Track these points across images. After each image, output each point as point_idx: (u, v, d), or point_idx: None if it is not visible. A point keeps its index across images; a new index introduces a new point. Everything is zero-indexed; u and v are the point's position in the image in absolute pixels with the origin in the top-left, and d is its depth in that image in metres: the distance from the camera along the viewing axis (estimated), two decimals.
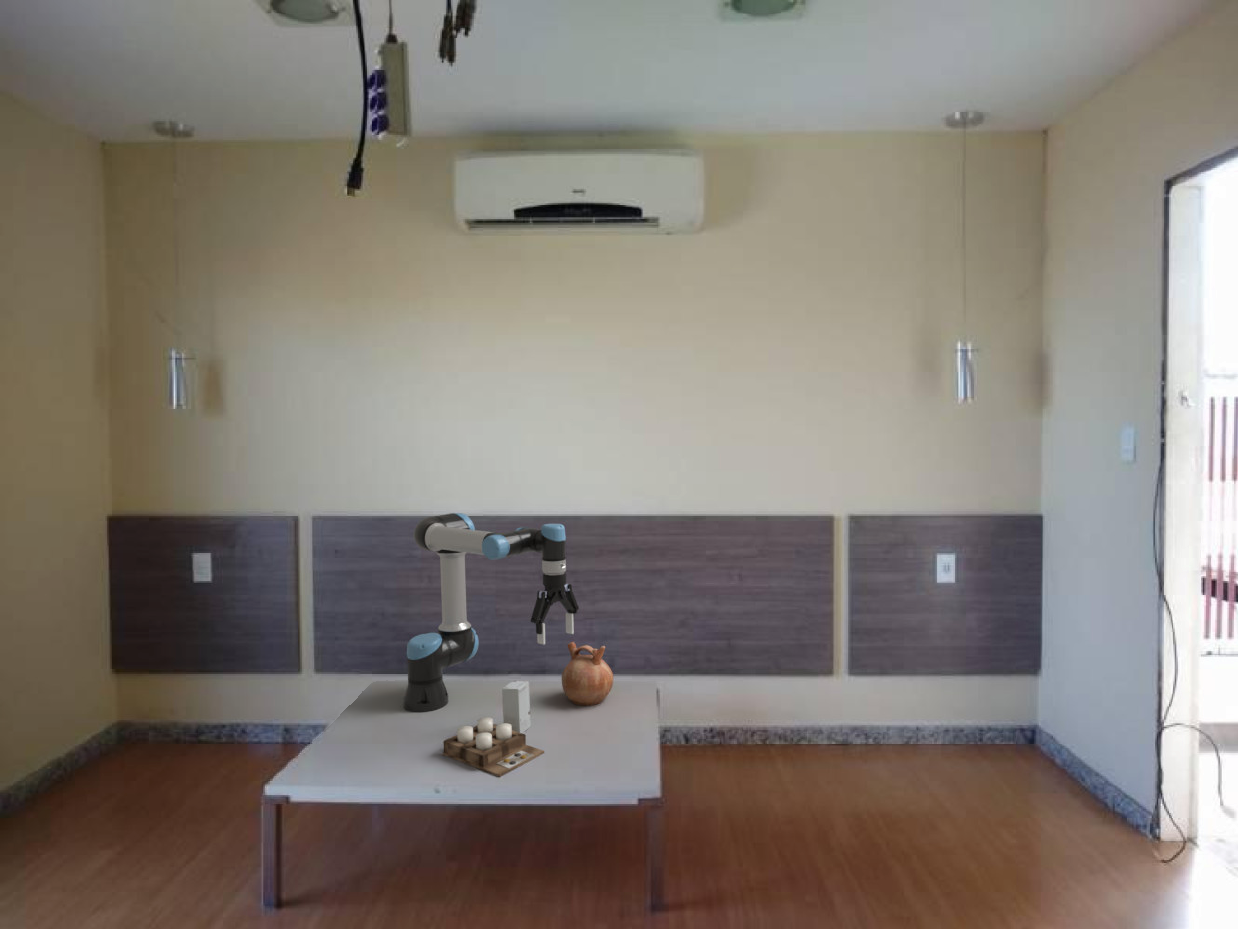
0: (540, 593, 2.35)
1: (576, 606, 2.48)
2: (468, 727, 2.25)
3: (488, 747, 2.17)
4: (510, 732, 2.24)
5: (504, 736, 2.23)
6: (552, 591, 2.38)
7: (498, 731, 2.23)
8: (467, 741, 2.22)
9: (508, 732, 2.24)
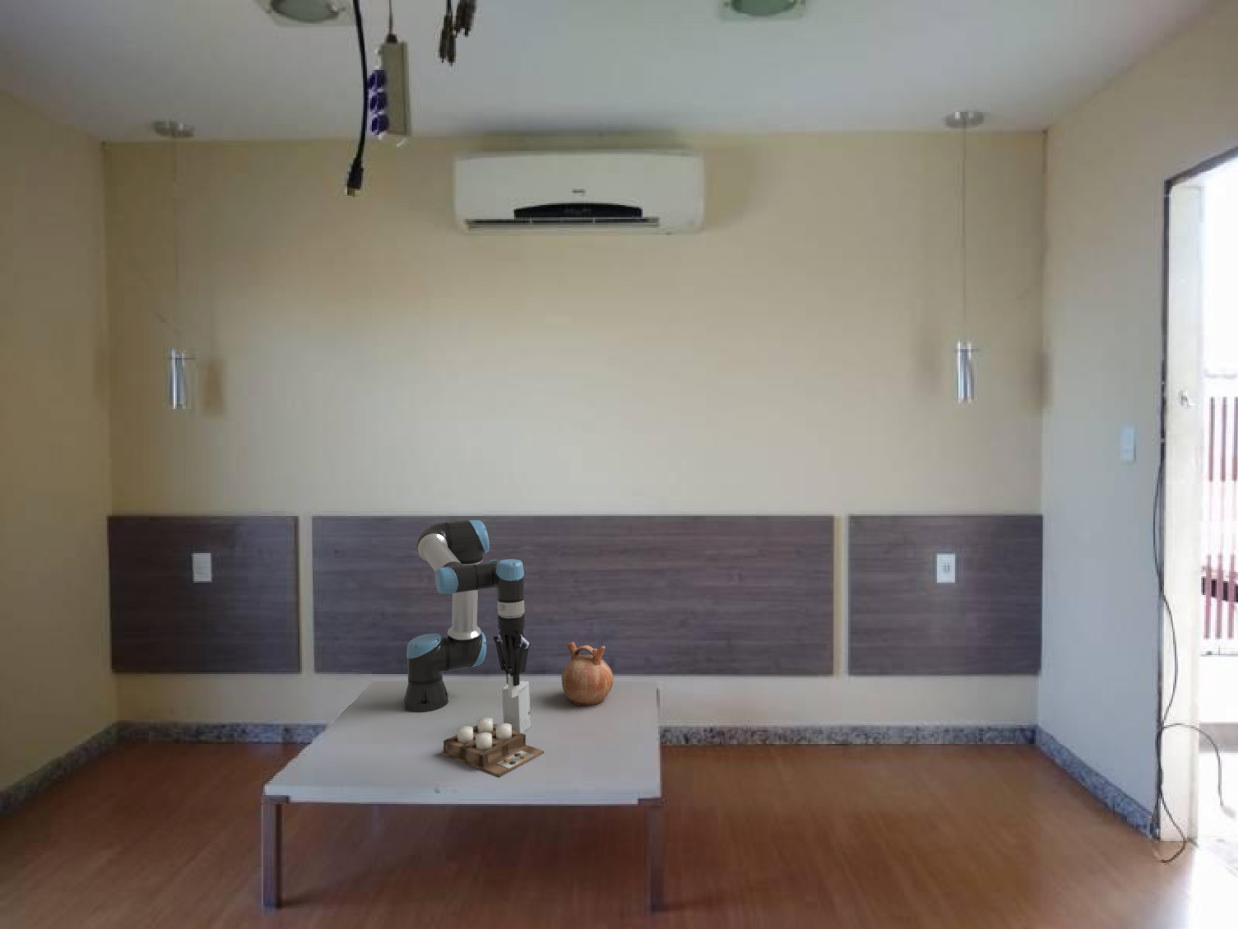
0: None
1: (517, 669, 2.13)
2: (468, 727, 2.25)
3: (488, 747, 2.17)
4: (510, 732, 2.24)
5: (504, 736, 2.23)
6: (502, 631, 2.16)
7: (498, 731, 2.23)
8: (467, 741, 2.22)
9: (508, 732, 2.24)
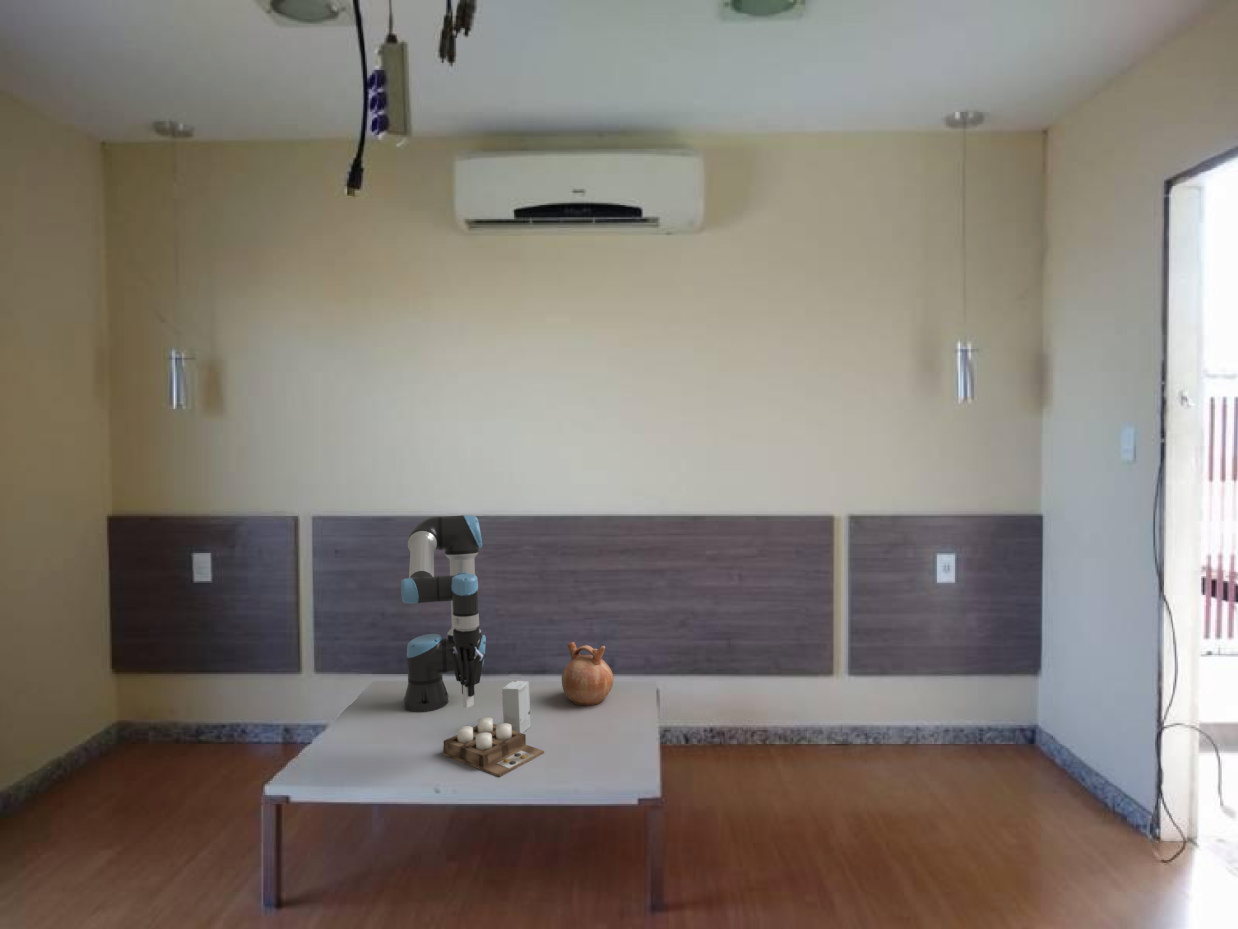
0: None
1: (472, 680, 2.20)
2: (468, 727, 2.25)
3: (488, 747, 2.17)
4: (510, 732, 2.24)
5: (504, 736, 2.23)
6: (457, 643, 2.22)
7: (498, 731, 2.23)
8: (467, 741, 2.22)
9: (508, 732, 2.24)
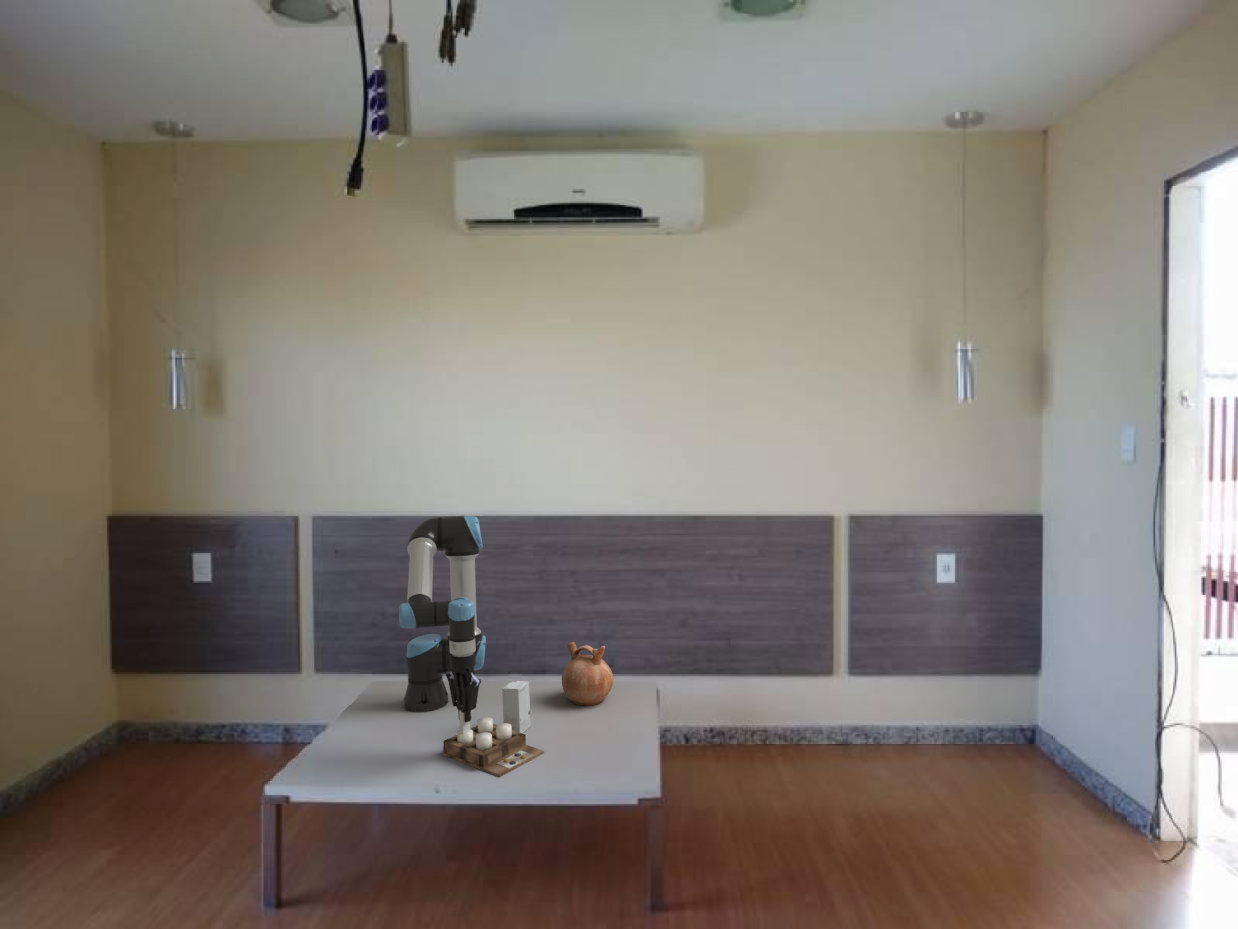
0: None
1: (468, 706, 2.20)
2: None
3: (488, 747, 2.17)
4: (510, 732, 2.24)
5: (504, 736, 2.23)
6: (454, 669, 2.23)
7: (498, 731, 2.23)
8: None
9: (508, 732, 2.24)
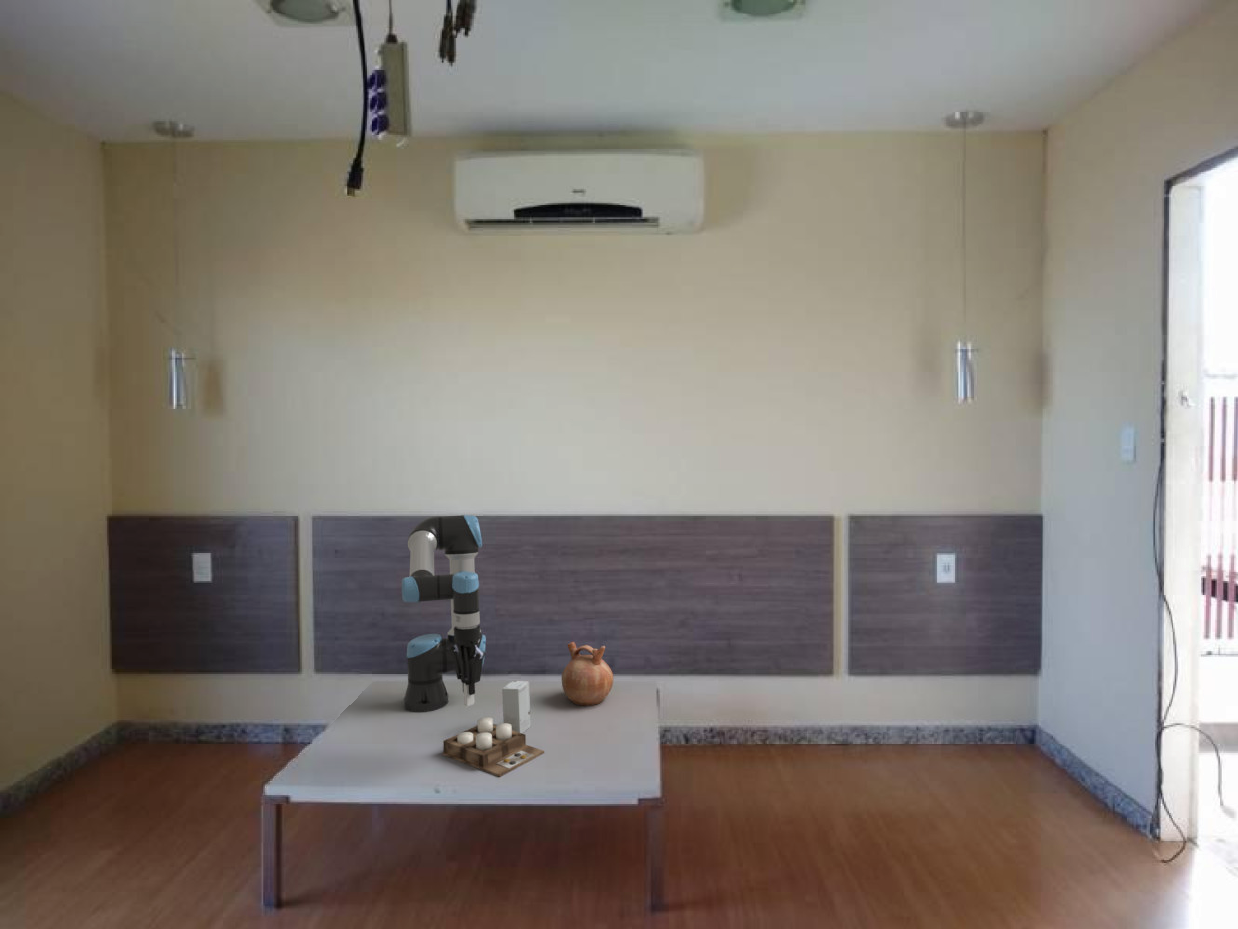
0: None
1: (472, 678, 2.20)
2: (468, 733, 2.25)
3: (488, 747, 2.17)
4: (510, 732, 2.24)
5: (504, 736, 2.23)
6: (458, 642, 2.23)
7: (498, 731, 2.23)
8: None
9: (508, 732, 2.24)
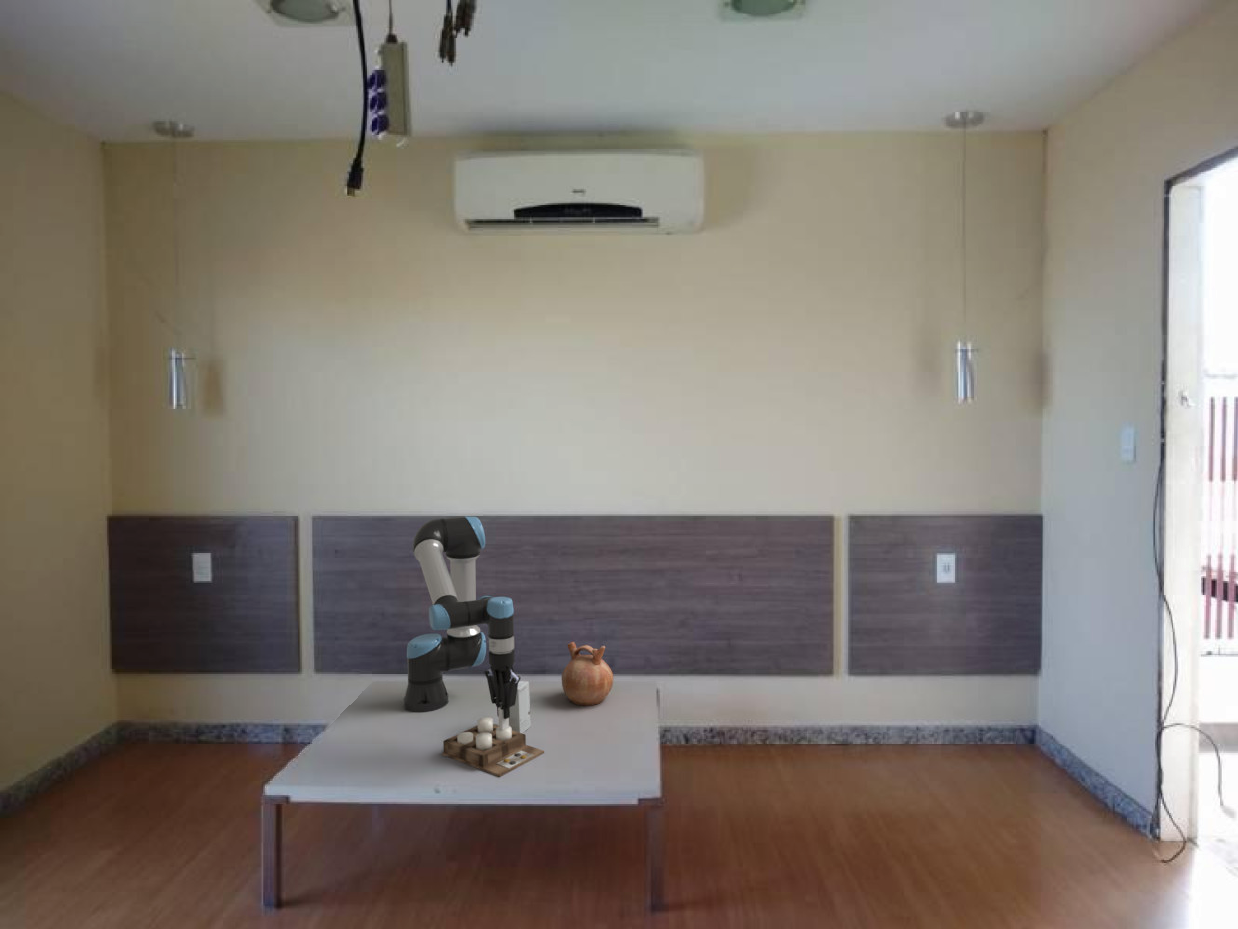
0: None
1: (507, 703, 2.22)
2: (468, 733, 2.25)
3: (488, 747, 2.17)
4: (510, 734, 2.25)
5: (504, 738, 2.23)
6: (493, 666, 2.25)
7: (498, 733, 2.23)
8: None
9: (509, 734, 2.24)
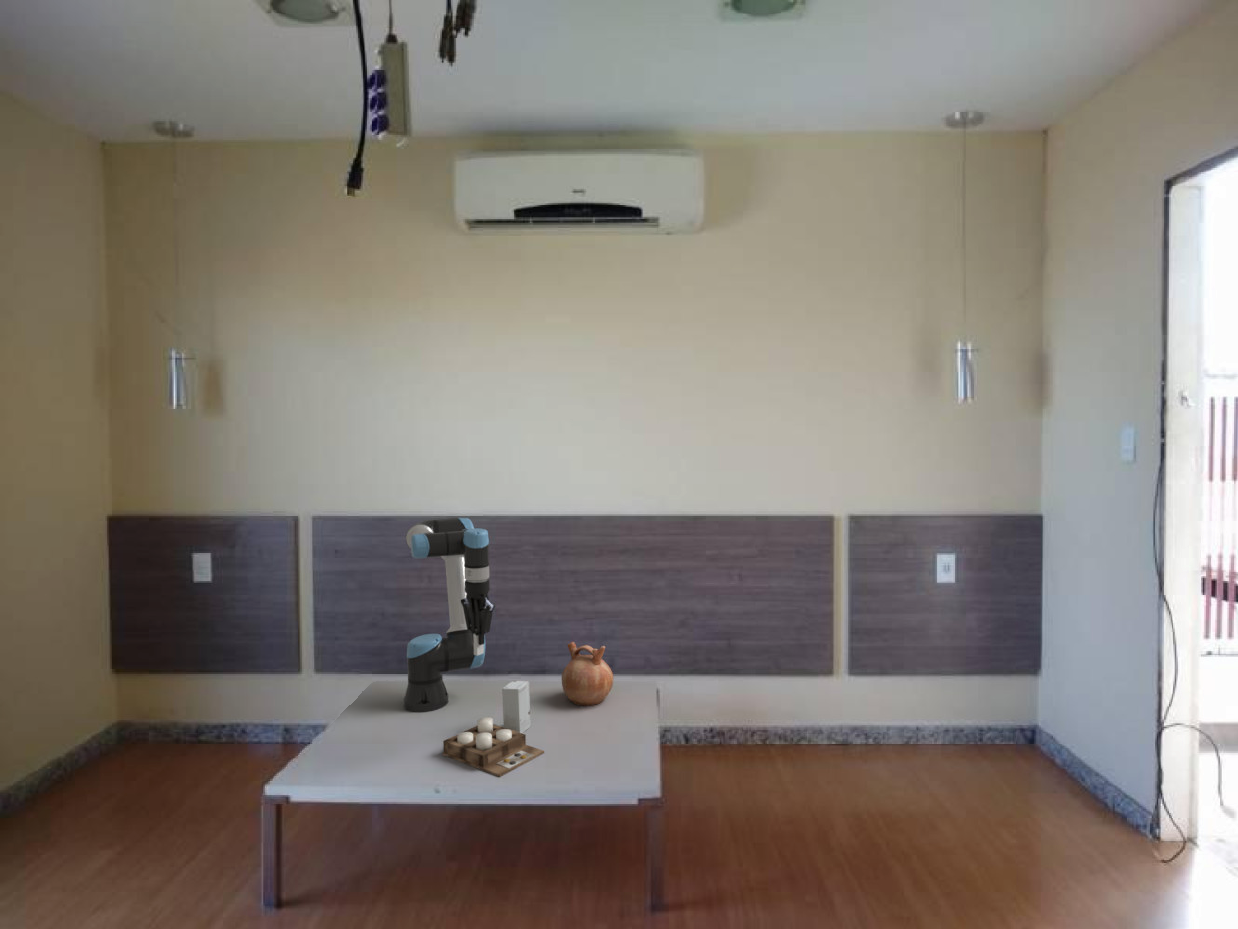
0: None
1: (482, 629, 2.31)
2: (468, 733, 2.25)
3: (488, 747, 2.17)
4: None
5: None
6: (468, 594, 2.34)
7: (499, 737, 2.23)
8: None
9: (509, 738, 2.24)
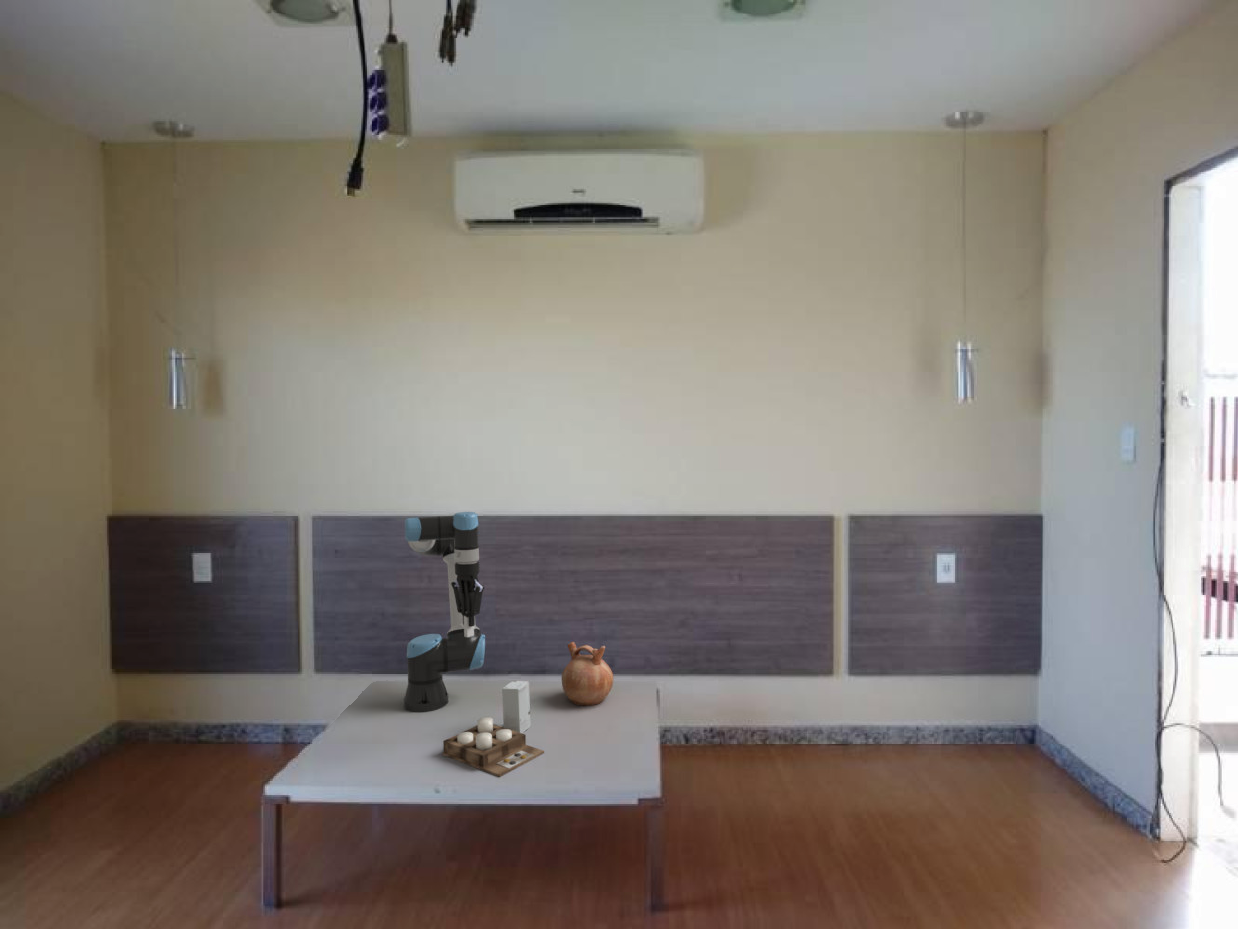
0: None
1: (472, 611, 2.34)
2: (468, 733, 2.25)
3: (488, 747, 2.17)
4: None
5: None
6: (458, 577, 2.37)
7: (499, 737, 2.23)
8: None
9: (509, 738, 2.24)
